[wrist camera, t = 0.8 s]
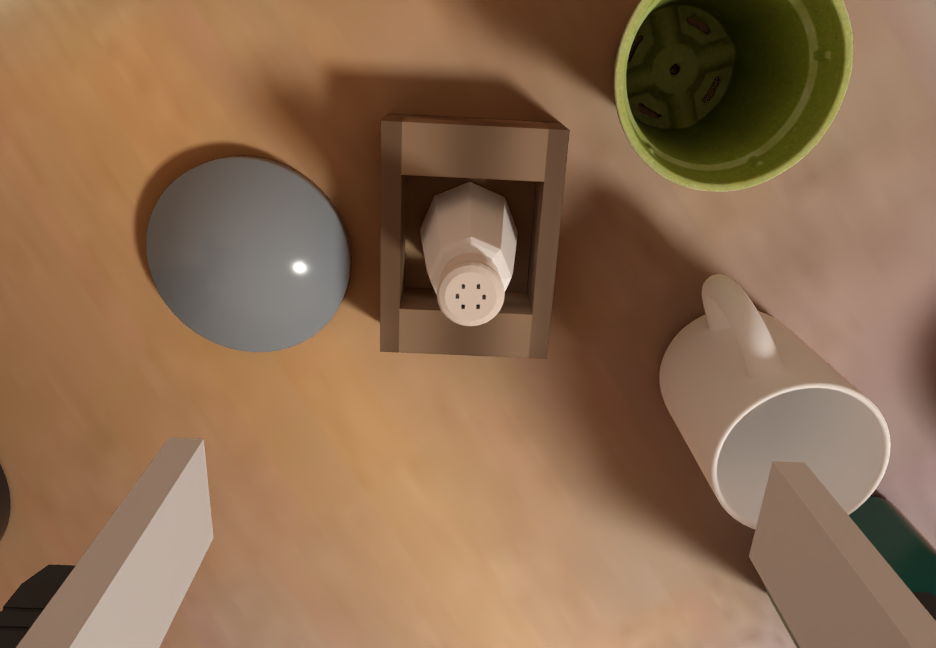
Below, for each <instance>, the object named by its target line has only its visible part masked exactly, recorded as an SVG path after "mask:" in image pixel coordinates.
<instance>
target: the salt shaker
mask: <svg viewBox="0 0 936 648" xmlns="http://www.w3.org/2000/svg"><path fill="white" fill-rule="evenodd" d="M420 235H421V240H422V246H423V252H424V257H425V263H426V268H427V273H428V276H429V278H430V281H431V283H432V286H433V288H434V290H435V293H436V295H437V301H438V304H439V307H440V309H441V311H442V312H443V313H444V315H445V316H446V317H447V318H449V319H450V320H451V321H453V322H455V323H457V324H460V325H464V326H478V325H481V324H484V323H487V322H488V321H490V320H491V319H493V318H494V317H495V316H496V315H497V314H498V312H499V311H500V309H501V307H502V305H503V302H504V297H505V291H506V289H507V287H508V285H509V282H510V280H511V278H512V274H513V268H514V260H515V252H516V244H517V236H518V231H517V228H516V225H515V223H514V220H513V217H512V215H511V212H510V209H509V207H508V204H507V201H506V199H505V197H504V196H501V195H499V194H497V193H495V192H492V191H490V190H488V189H485V188H483V187H481V186H478V185H476V184H474V183H472V182H468V183H465V184H463V185H460V186H458V187H455V188H453V189H450V190H448V191H445V192H443V193H440V194H438V195H435V196H434V197H433V200H432V202H431V204H430V207H429V209H428V212H427V214H426V216H425V219H424V221H423V224H422V226H421V228H420Z"/></svg>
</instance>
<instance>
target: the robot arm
mask: <svg viewBox="0 0 936 648" xmlns="http://www.w3.org/2000/svg"><path fill="white" fill-rule="evenodd" d="M9 517H10V493H9V487H8V484H7V480H6V477H5V474H4V471H3V469H2V467H1V465H0V540H1V539H2V537H3V535H4V533H5V531H6V528H7V525H8V521H9ZM212 540H213V530H212V519H211V509H210V499H209V489H208V479H207V468H206V458H205V448H204V439H194V438H169V439H168V440H167V442H166V443H165V444H164V446H163V447H162V448H161V450H160V451H159V453H158V454H157V455H156V457H155V458H154V459H153V461H152V462H151V464H150V465H149V466H148V468H147V469H146V470H145V472H144V473H143V474H142V476H141V477H140V479H139V480H138V481H137V483H136V484H135V485H134V487H133V488H132V490H131V491H130V492H129V494H128V495H127V496H126V498H125V499H124V500H123V502H122V503H121V505H120V506H119V507H118V509H117V510H116V511H115V513H114V514H113V516H112V517H111V518H110V520H109V521H108V522H107V524H106V525H105V526H104V528H103V529H102V531H101V532H100V533H99V535H98V536H97V537H96V539H95V540H94V542H93V543H92V544H91V546H90V547H89V548H88V550H87V551H86V552H85V554H84V555H83V557H82V558H81V559H80V561H79V562H78V563H77V565H76V566H71V565H48V566H46V567H45V568H43V569H42V570H41V571H39V572H38V573H36V574H35V575H34V576H32V577H31V578H29V579H28V580H27V581H25V582H24V583H22V584H21V585H20V587H19V588H18V589H17V590H16V592H15V593H14V594H13V595H12V597H11V598H10V599H9V600H8V602H7V603H6V604H5V605H4V606H3V611H0V648H159V647H160V645H161V643H162V641H163V639H164V637H165V635H166V633H167V631H168V629H169V626H170V624H171V622H172V620H173V618H174V616H175V614H176V612H177V610H178V608H179V606H180V604H181V602H182V600H183V598H184V596H185V594H186V592H187V590H188V588H189V586H190V584H191V582H192V580H193V578H194V576H195V574H196V572H197V570H198V568H199V566H200V564H201V562H202V560H203V558H204V556H205V554H206V552H207V550H208V548H209V546H210V544H211V542H212ZM749 558H750V560H751V561H752V563H753V565H754V567H755V569H756V570H757V572H758V574H759V576H760V577H761V579H762V581H763V583H764V584H765V586H766V588H767V590H768V591H769V593H770V595H771V597H772V599H773V600H774V602H775V604H776V606H777V607H778V609H779V611H780V613H781V614H782V616H783V618H784V620H785V622H786V623H787V625H788V627H789V629H790V630H791V632H792V634H793V636H794V637H795V639H796V641H797V643H798V645H799V646H800V648H936V597H935V596H933V595H932V594H930V593H927V592H911V591H910V589H909V588H908V587H907V586H906V585H905V583H904V582H903V581H902V580H901V578H900V577H899V576H898V575H897V574H896V572H895V571H894V570H893V569H892V568H891V566H890V565H889V564H888V563H887V561H886V560H885V559H884V558H883V557H882V555H881V554H880V553H879V552H878V551H877V549H876V548H875V547H874V546H873V545H872V543H871V542H870V541H869V540H868V538H867V537H866V536H865V535H864V534H863V532H862V531H861V530H860V529H859V528H858V526H857V525H856V524H855V523H854V522H853V520H852V519H851V518H850V517H849V515H848V514H847V513H846V512H845V511H844V509H843V508H842V507H841V506H840V505H839V503H838V502H837V501H836V500H835V499H834V497H833V496H832V495H831V494H830V492H829V491H828V490H827V489H826V488H825V486H824V485H823V484H822V483H821V482H820V480H819V479H818V478H817V477H816V476H815V474H814V473H813V472H812V471H811V469H810V468H809V467H808V466H807V465H806V463H803V462H778V461H772V465H771V469H770V473H769V477H768V481H767V485H766V489H765V493H764V497H763V501H762V506H761V510H760V514H759V518H758V522H757V526H756V530H755V534H754V538H753V542H752V546H751V550H750V554H749Z"/></svg>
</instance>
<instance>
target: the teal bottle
mask: <svg viewBox="0 0 936 648" xmlns="http://www.w3.org/2000/svg"><path fill="white" fill-rule="evenodd" d="M849 517H850V518H851V519H852V520H853V522H854V523H855V524H856V525H857V526H858V528H859V529H860V530H861V531H862V532H863V534H864V535H865V536H866V537H867V538H868V540H869V541H870V542H871V543H872V545H873V546H874V547H875V548H876V549H877V551H878V552H879V553H880V554H881V555H882V557H883V558H884V559H885V560H886V561H887V563H888V564H889V565H890V566H891V568H892V569H893V570H894V571H895V572H896V574H897V575H898V576H899V577H900V578H901V580H902V581H903V582H904V583H905V585H906V586H907V587H908V588H909V589H910V591H911V592H927V593H930V594H932V595H933V596H935V597H936V549H935V548H934V547H933V546H932V545H931V544H930V542H929V541H928V540H927V539H926V538H925V537H924V536H923V535H922V534H921V533H920V532H919V531H918V530H917V528H916V527H915V526H914V525H913V524H912V523H911V522H910V521H909V520H908V519H907V518H906V517H905V516H904V515H903V513H902V512H901V511H900V510H899V509H898V508H897V507H896V506H894V505H893V504H892V503H891V502H890V501H888V500H886V499H882V498H878V497H874V496H873V497H869V498H868V499H867V500H866V501H865V502H864V503H863V504H862V505H861V506H860V507H859V508H857V509H856V510H855V511H853V512H852V513H851V514H849ZM765 590H766V592H767V594H768V596H769V598H770V600H771V602H772V604H773V606H774V607H775V609H776V611H777V613H778V615H779V617H780V618H781V620H782V622H783V624H784V626H785V627H786V629H787V631H788V633H789V635H790V637H791V638H792V640H793V642H794V644H795V646H796V647H797V648H800V646H799V645H798V643H797V641H796V639H795V637H794V636H793V634H792V632H791V630H790V629H789V627H788V625H787V623H786V622H785V620H784V618H783V616H782V614H781V613H780V611H779V609H778V607H777V606H776V604H775V602H774V600H773V599H772V597H771V595H770V593H769V591H768V590H767V588H766V586H765Z"/></svg>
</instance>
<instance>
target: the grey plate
mask: <svg viewBox="0 0 936 648" xmlns="http://www.w3.org/2000/svg"><path fill="white" fill-rule="evenodd" d="M146 253H147V260H148V265H149V270H150V273H151V276H152V279H153V281H154V284H155V286H156V288H157V290H158V292H159V294H160V295H161V297H162V298H163V300H164V302H165V303H166V305H167V306H168V307H169V308H170V309H171V311H172V312H173V313H174V314H175V315H176V316H177V317H178V318H179V319H180V320H181V321H182V322H183V323H184V324H185V325H186V326H188V327H189V328H190V329H192V330H193V331H194V332H196V333H197V334H199V335H201V336H202V337H204V338H206V339H208V340H210V341H212V342H214V343H216V344H219V345H222V346H225V347H227V348H231V349H236V350H240V351H248V352H270V351H277V350H282V349H286V348H289V347H292V346H295V345H297V344H299V343H302V342H304V341H305V340H307V339H309V338H310V337H312V336H313V335H315V334H316V333H317V332H319V331H320V330H321V329H322V328H323V327H324V326H325V325H326V324H327V323H328V322H329V321H330V320H331V318H332V317H333V315H334V314H335V313H336V311H337V309H338V307H339V305H340V303H341V302H342V300H343V297H344V295H345V293H346V290H347V287H348V284H349V279H350V274H351V262H352V258H351V247H350V242H349V238H348V234H347V231H346V228H345V225H344V223H343V221H342V219H341V217H340V215H339V213H338V211H337V209H336V208H335V206H334V205H333V203H332V202H331V201H330V199H329V198H328V197H327V196H326V195H325V193H324V192H323V191H322V190H321V189H320V188H319V187H318V186H317V185H316V184H314V183H313V182H312V181H311V180H310V179H308V178H307V177H305V176H304V175H303V174H301V173H300V172H298V171H296V170H294V169H292V168H291V167H289V166H287V165H284V164H282V163H279V162H276V161H274V160H270V159H266V158H262V157H255V156H229V157H222V158H218V159H214V160H211V161H208V162H206V163H203V164H201V165H199V166H197V167H195V168H193V169H191V170H189V171H187V172H186V173H184V174H183V175H181V176H180V177H178V178H177V179H176V180H175V181H174V182H173V183H171V184H170V185H169V186H168V187H167V189H166V190H165V191H164V192H163V194H162V195H161V196H160V198H159V200H158V201H157V203H156V205H155V207H154V209H153V212H152V214H151V217H150V220H149V224H148V228H147V237H146Z"/></svg>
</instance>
